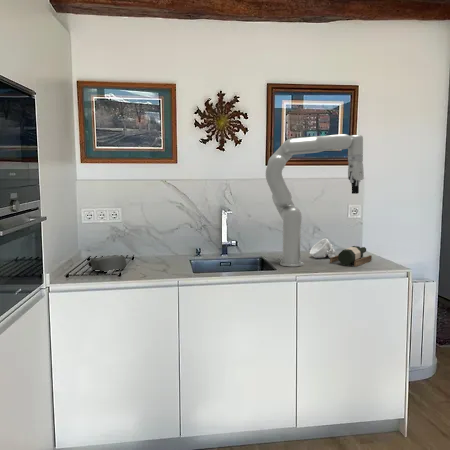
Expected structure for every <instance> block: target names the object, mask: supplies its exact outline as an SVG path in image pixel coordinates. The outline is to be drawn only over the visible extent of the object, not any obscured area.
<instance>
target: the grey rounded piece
mask: <svg viewBox="0 0 450 450" xmlns="http://www.w3.org/2000/svg"><path fill="white" fill-rule="evenodd" d="M88 267H90V268H91V271H92V270H100V271H99V272H102V271H107V270H113V269H123V270H124V269H126V267H127V260H126V257H125V255H119V254H118V255H117V254H116V255H115V254H113V255H103V256H102V257H96V258H91V259H90V261H89V262H88Z"/></svg>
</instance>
